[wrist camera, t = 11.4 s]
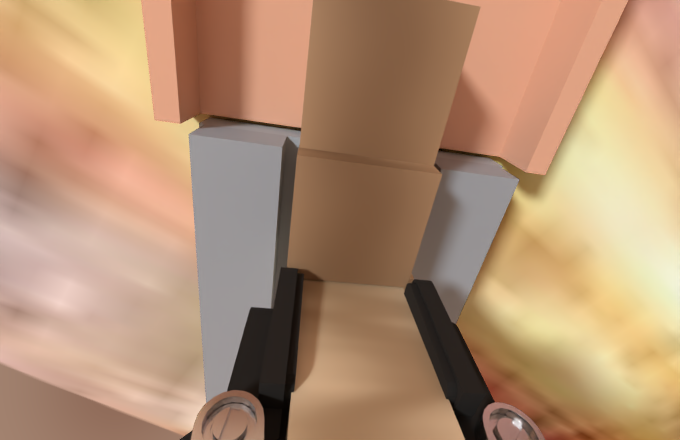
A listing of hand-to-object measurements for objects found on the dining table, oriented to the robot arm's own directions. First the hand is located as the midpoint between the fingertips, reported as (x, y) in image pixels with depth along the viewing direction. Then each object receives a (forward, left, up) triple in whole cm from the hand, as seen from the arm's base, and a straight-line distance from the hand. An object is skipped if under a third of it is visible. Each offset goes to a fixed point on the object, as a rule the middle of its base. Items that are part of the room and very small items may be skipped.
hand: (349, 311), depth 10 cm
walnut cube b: (0, -7, -5) cm, 9 cm away
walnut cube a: (0, -3, -4) cm, 5 cm away
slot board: (0, +5, -6) cm, 8 cm away
